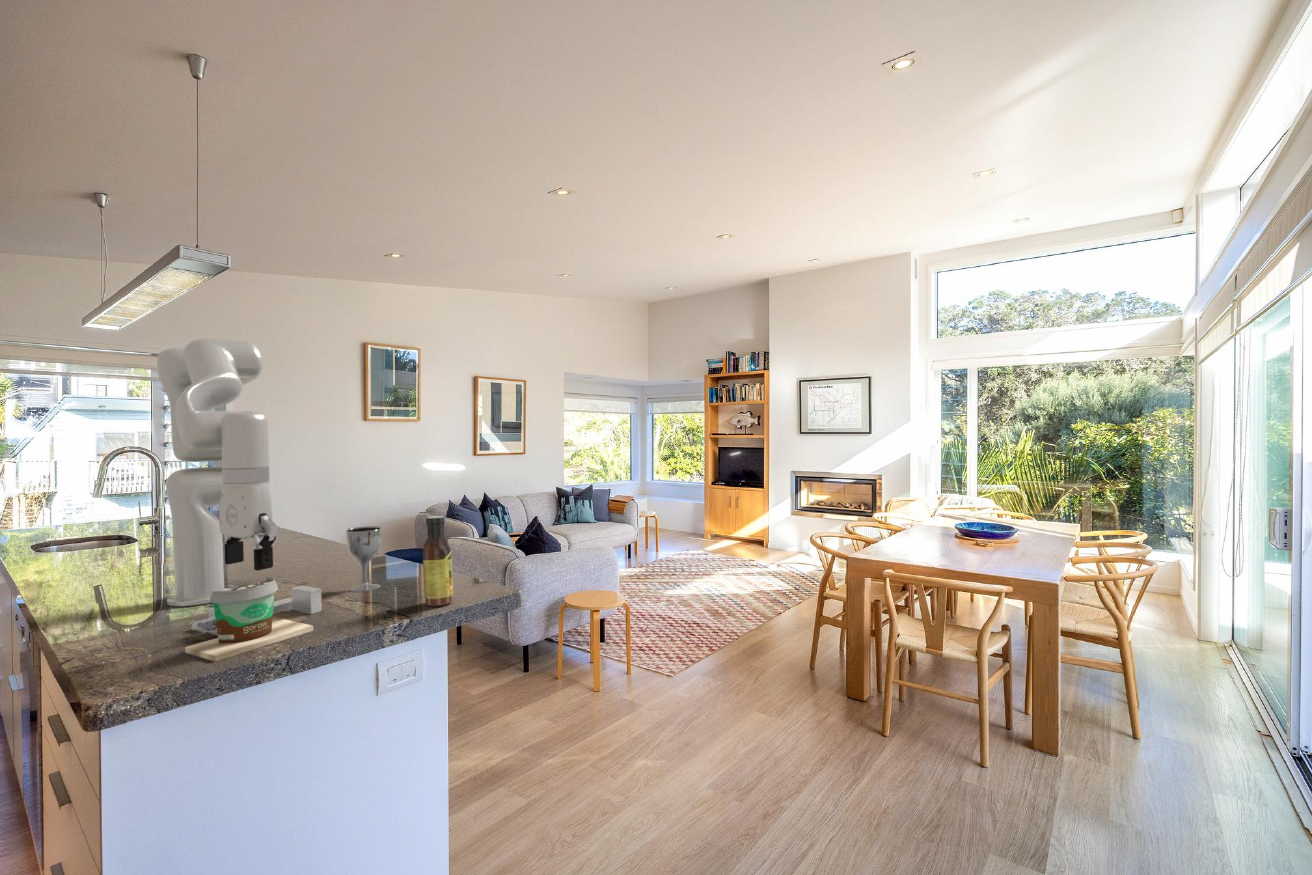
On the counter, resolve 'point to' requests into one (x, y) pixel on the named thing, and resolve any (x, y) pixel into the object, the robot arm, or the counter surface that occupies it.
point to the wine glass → (364, 550)
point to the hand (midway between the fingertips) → (248, 565)
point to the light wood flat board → (221, 651)
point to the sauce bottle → (437, 564)
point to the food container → (244, 611)
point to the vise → (275, 607)
